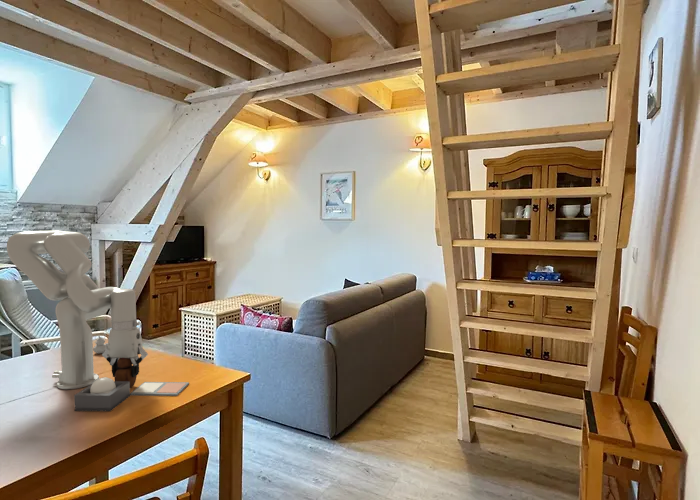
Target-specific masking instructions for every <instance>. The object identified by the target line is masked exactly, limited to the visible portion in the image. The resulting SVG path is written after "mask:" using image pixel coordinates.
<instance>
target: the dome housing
mask: <svg viewBox="0 0 700 500" xmlns="http://www.w3.org/2000/svg"><path fill="white" fill-rule="evenodd" d="M113 381H114V382H115V385H116V388H115V389H114V390H112V391H111V392H109V393H90V388H91V386H92V384H91V385H89V386H86V387H84V389H82V390H80V391H79V392H77V393H76V394H74V395H73V399H74V401H73V402H74V412H111V411H113V410H114V409H116V408H117V407H118V406H120V404H122V403H123V402H124V401H126V400H127V399H128V398H129V397H131V395H130V393H131V390H130V389H131V388H130V381H115V380H113Z"/></svg>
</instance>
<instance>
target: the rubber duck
mask: <svg viewBox="0 0 700 500" xmlns="http://www.w3.org/2000/svg"><path fill="white" fill-rule="evenodd" d="M94 343H95V346H93V353H96V354H99V355H100V354H103V353H104V352H105V351H106V350H107V349H108V342H107V343H106V341H105V339H104V338H103V337H101V336H100V335H99V336H98V338H97V339H96V341H95V342H94Z"/></svg>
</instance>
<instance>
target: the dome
mask: <svg viewBox="0 0 700 500" xmlns="http://www.w3.org/2000/svg"><path fill="white" fill-rule="evenodd" d="M114 381H115V380H113V379H112V378H110V377H106V376H104V377H99V379H97V380H96V381H95V382H94V383H93V384H92V386H91V388H90V393H109V392H111V391H112V390H114V389H115V388H116V385H115V382H114Z"/></svg>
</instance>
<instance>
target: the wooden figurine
mask: <svg viewBox="0 0 700 500" xmlns="http://www.w3.org/2000/svg"><path fill="white" fill-rule="evenodd" d="M117 364H118V367H119V369H118V370H117V371H116V373H115V377H114V381H130V389H131V388H133V387H134V386H135V384H136V381H137V376H138V375H136V376H135V377H132V368H131V367H132V366H133V363H132V361H131V359H130V358H119V359H118V362H117Z"/></svg>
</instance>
